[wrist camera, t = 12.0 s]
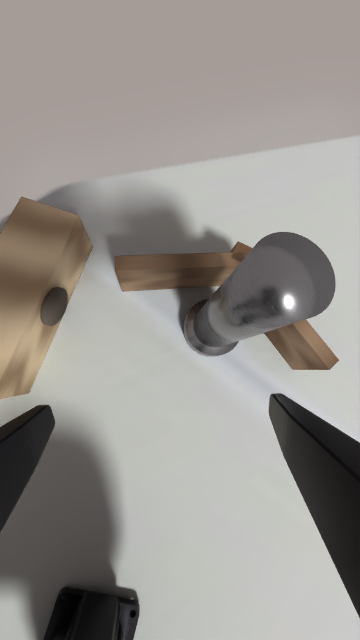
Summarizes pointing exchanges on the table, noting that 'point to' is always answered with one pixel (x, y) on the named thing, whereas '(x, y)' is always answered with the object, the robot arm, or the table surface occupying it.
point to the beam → (35, 286)
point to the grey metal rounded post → (263, 294)
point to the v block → (212, 270)
